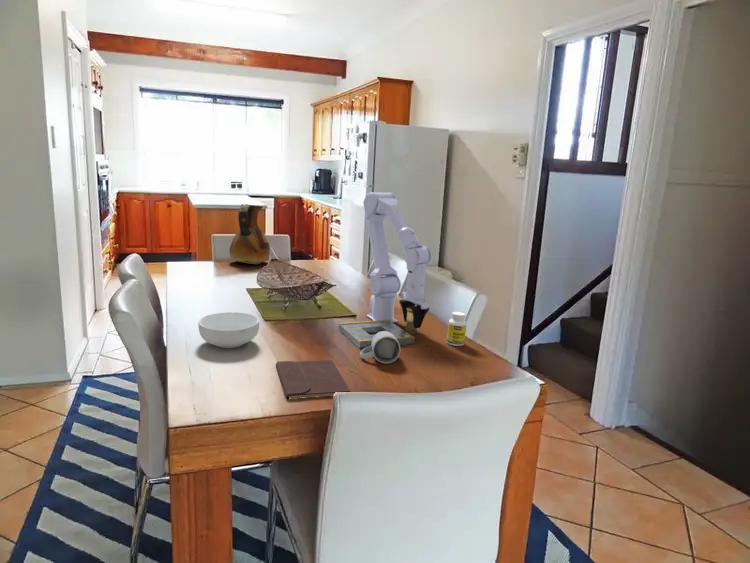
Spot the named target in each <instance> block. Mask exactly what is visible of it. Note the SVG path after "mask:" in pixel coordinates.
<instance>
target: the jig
mask: <svg viewBox="0 0 750 563" xmlns="http://www.w3.org/2000/svg"><path fill="white" fill-rule="evenodd" d="M338 331H339V332H340V333H341V334H343V336H345V337H346V338H347V339H348V340H349V341H350V342H351V343H353V344H354V346H356V347H357V348H358V349H361V350H362V349H365V348H367V347H369V346H371V345H372V339H373V337H374V336H375V335H376V334H377V333H378V332H381V331H388V332H390V333H392V334H393V335H394V336H395V337H396V339H397V340H398V342H399V344H400V346H403V345H414V344H415V336H414V335H412V334H411V333H407V332H406V330H404V329H402V327H399V326H398V325H396V324H395V322H391V321H390V320H376V321H373V320H365V321H352V322H351V321H350V322H349V321H348V322H338Z"/></svg>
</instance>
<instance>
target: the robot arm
mask: <svg viewBox="0 0 750 563" xmlns="http://www.w3.org/2000/svg"><path fill="white" fill-rule="evenodd" d="M398 204H399V201H398V199H397V198H396V195H395V194H394V193H393V192H391V191H390V192H373V191H369V192H367V194H366V195H365V198H364V199H363V209H364V214H365V222H366V226H367V233H368V237H369V243H370V248H371V249H370V250H371V254H372V260H373V265H374V270H372V272H371V273H370V274H369V290H370V292H371V293H372V295H371V296H370V299H369V309H368V310H369V314H366V317H367V318H369V319H370V320H371V321H376V320H390V321H391V322H392V323H398V320H397V319H396V318H394V317H395V316H394V315H395V300H396V296H397V295H398V293H399V292H400V290H401V287H402V282H401V280H400V277H399V275H398V271H397V270H396V269H395V268H394V267H392V266H391V262H390V256H389V251H388V245H387V240H386V234H385V228H384V223H383V222H384V220H385V219H386V218H388V220H389V221H390V223H391V224H392V226H393V227H394V228H395V230H396V231H397V234H396V235H397V236H396V239H397V241H398V242H399V244H400V245H401V247H402V249H403V251H404V253H405V254H404V260H405V263H406V270H407V276H406V289H405V290H406V291H402V292H401V296H400V297H401V299H400V300H399V301H398V302H399V304H400V307H401V309H402V310H401V311H402V315H403V321H404V322H405V323H406V320H407V310H406V308H407V307H408V306H414V307H411V309H412V312H413V324H414V328H418V329H420V328H421V327H422V324H423V322H424V319H425V317H426V315H427V313H428V312H429V311H430V308H429V302H427V301H426V299H425V298H424V296H425V295H424V294H425V283H426V274H427V273H426V272H427V271H426V270H427V264H429V262H430V261H431V258H432V255H431V254H432V252H431V250H430V249H429V248H430V247H427V246H425V245H424V244H422V243H421V241H420V240H419V238H418V236H417V234H416V232H415V229H413V228H411V227H408V225H407V224H406V222H405V219H404V218H403V216H402V213H401V211H400V210H399V207H398Z"/></svg>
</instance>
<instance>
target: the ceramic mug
mask: <svg viewBox="0 0 750 563" xmlns="http://www.w3.org/2000/svg"><path fill="white" fill-rule="evenodd" d="M375 334H376V335H375V336H374V337H373V339H372V345H371V346H369V347H367V348H362V349H361V350H360V352H359V355H360V358H361V360H369V359H372V358H374V359H375V360H376V361H377V362H379V363H380V364H381V363H382V364H385V365H386V364H392V363H394V362H395V361H396V360H397V359H398V358H399V356H400V355H401V345H400V344H399V342H398V340H397V339H396V337H395V336H394V335H393V334H392V333H390V332H388V331H381V332H378V333H375Z"/></svg>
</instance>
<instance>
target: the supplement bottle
mask: <svg viewBox="0 0 750 563" xmlns="http://www.w3.org/2000/svg"><path fill="white" fill-rule="evenodd" d="M466 331H467V321H466V314H465V312H461V311H453V312H452V313H451V318H449V321H448V327H447V337H446V343H447V344H448V345H449V346H452V345H453V347H461V346H462V347H463V346H464V345H465V342H466V341H465V338H466Z"/></svg>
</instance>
